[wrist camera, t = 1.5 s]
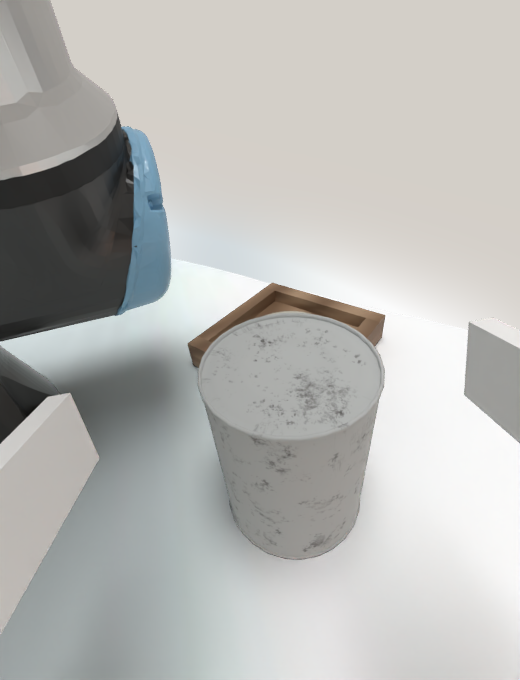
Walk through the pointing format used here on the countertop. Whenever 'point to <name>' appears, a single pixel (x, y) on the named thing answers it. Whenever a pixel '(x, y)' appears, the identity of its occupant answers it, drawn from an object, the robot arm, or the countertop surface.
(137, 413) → the countertop surface
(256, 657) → the countertop surface
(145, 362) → the countertop surface
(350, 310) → the walnut seat tray
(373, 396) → the speckled white cylinder
